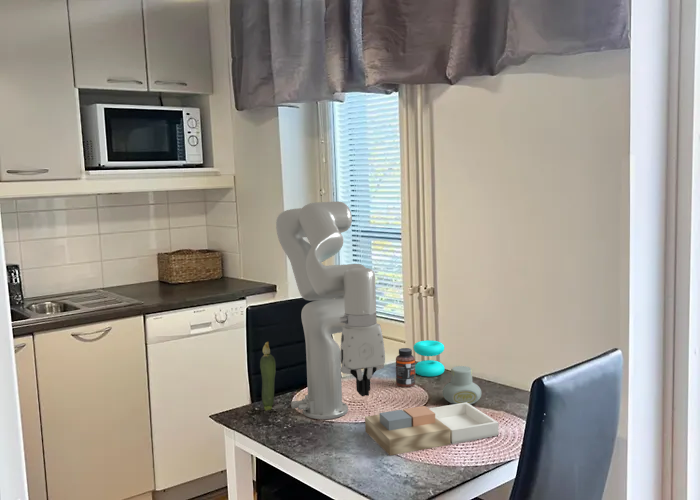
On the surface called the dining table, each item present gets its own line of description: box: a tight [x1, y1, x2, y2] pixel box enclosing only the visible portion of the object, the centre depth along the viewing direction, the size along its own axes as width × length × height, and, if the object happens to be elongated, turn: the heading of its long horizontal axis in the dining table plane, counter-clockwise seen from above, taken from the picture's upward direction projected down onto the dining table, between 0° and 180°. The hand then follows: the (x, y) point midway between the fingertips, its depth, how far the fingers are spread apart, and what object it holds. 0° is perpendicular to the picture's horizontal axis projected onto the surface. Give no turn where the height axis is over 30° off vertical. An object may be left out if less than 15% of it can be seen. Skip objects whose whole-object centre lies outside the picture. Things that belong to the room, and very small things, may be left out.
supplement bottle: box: [395, 347, 416, 388], centre depth 214 cm, size 6×6×11 cm
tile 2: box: [402, 405, 435, 426], centre depth 174 cm, size 6×6×2 cm
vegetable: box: [259, 341, 277, 412], centre depth 195 cm, size 4×4×20 cm
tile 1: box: [378, 409, 412, 431], centre depth 172 cm, size 6×6×2 cm
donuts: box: [413, 339, 446, 378], centre depth 226 cm, size 10×10×10 cm
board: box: [364, 414, 451, 456], centre depth 174 cm, size 16×16×4 cm
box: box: [427, 402, 500, 445], centre depth 179 cm, size 13×16×4 cm
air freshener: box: [442, 365, 482, 405], centre depth 198 cm, size 11×8×10 cm
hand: (363, 394), depth 168 cm, fingers closed
